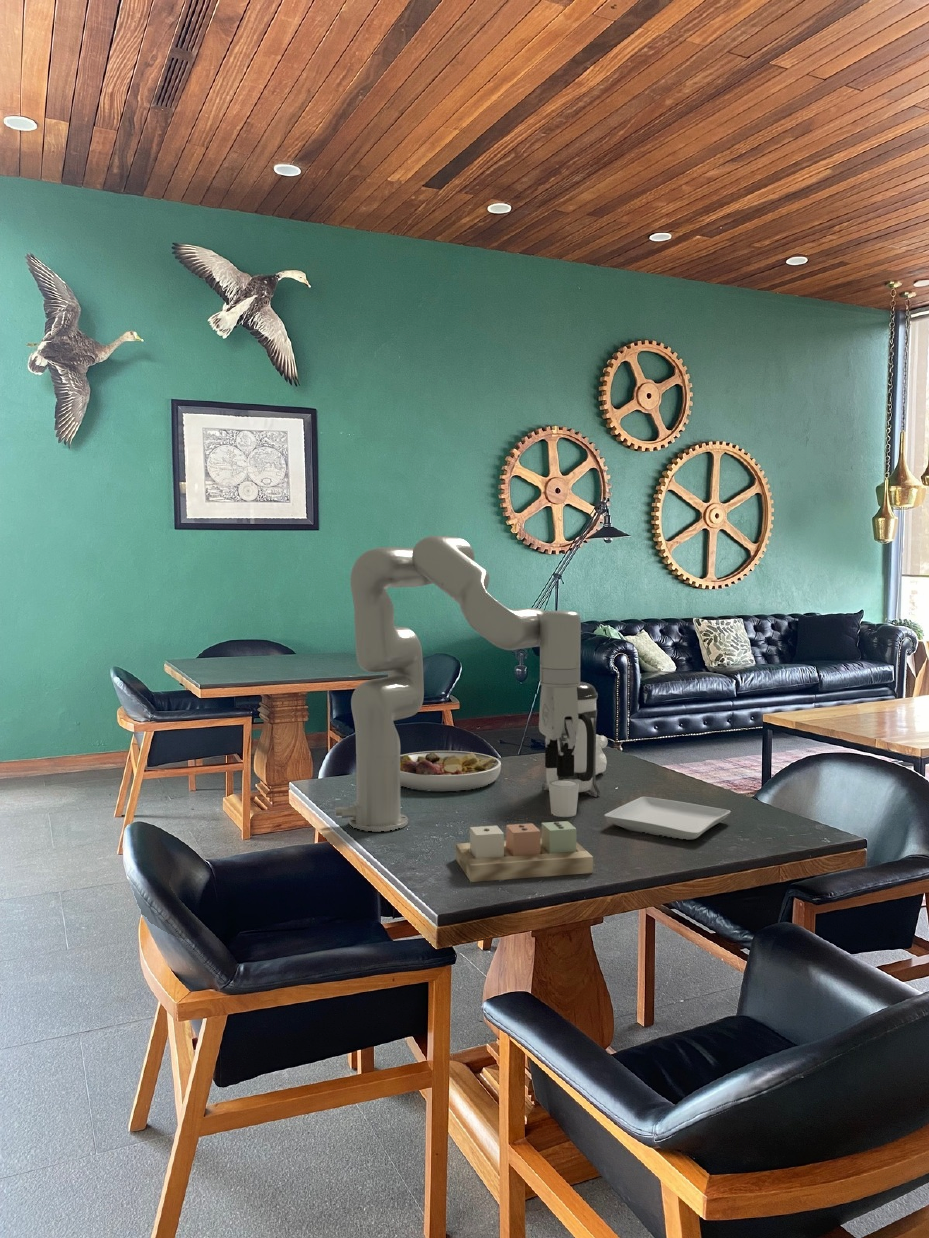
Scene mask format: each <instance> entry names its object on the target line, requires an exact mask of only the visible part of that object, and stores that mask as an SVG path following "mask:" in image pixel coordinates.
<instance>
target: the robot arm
mask: <svg viewBox="0 0 929 1238" xmlns="http://www.w3.org/2000/svg"><path fill="white" fill-rule="evenodd" d="M349 581H350V592H351V598H352V603H353V611H354V612H353V613H354V615H353V616H354V638H355V639H354V641H355V644H354V645H355V656H356V657H355V658H356V662H357V664H358V666H359V668H360V669H361V670H362V671H364V672H367V673H372V674H373V673H374V674H375V673H385V672H387V677H386V676H385V677H381V678H374V679H370V680H367V681H364V682H361V684H359V685H358V686H356V688H355V689H354V691H353V693H352V695H351V699H350V706H351V713H352V718H353V724H354V729H355V733H354V734H355V754H356V756H355V759H356V769H355V770H356V775H355V779H356V781H355V782H356V801H353V805H352V804H351V805H349V807H346V806H345V807H343V806H340V807H339V806H338V807H334V817H335V818H336V817H337V818H338V817H341V818H342V819H347V818H349V821H348V822H349V824H350V825H351V826H352V827H353V828H352V827H351V826H350V825H349V824H348V825H349V826H350V827H351V828H352V829H354V828H358V829H361V830H365V831H364V832H368V831H372V832H373V833H374V832H375V833H376V832H377V833H381V831H384V832H391V831H390V830H392V831H396V830H395V829H397V830H399V829H398V828H400V829H402V828H405V827H406V826H407V825H408V823H409V821H408V820H409V819H408V816H407V815H405V814H403V813H401V810H402V809H401V802H402V801H401V791H402V790H401V789H402V788H401V787H402V786H401V784H400V755H401V739H400V736H399V732H398V730H397V728H396V726H395V723H394V721H398V720H403V719H406V718H410V717H413V716H414V715H416V714H417V713H418V712H419V711H420V709H421V708H422V707H423V706H422V705H423V703H424V698H425V697H424V695H425V689H424V688H425V686H424V683H425V682H424V663H423V659H424V658H423V650H422V649H423V647H422V644H421V641H420V640H419V637H418V636H417V634H416V632H414V631H413V630H412V629H411V628H408V627H406V626H396V624H395V609H394V605H393V602H392V599H391V597H390V595H389V594H388V592H387V589H391V588H414V587H423V586H427V585H433V584H434V585H435V586H436V587H437V588H438V589H440V590H441V591H443V592H444V593H445V594H446V595H447V596H449V597H450V598H452V599H453V600H454V601H455V602H456V603H457V604H459V607H460V610H461V612H462V615H463V617H464V619H465V620H466V622H467V624H468V625H469V626H470V628H472V630H474V631H475V632H477V633H478V634H479V635H480V636H481V637H482V638H484V639H485V640H487V641H488V642H489V643H491V644H492V645H493V646H495V647H497V648H499V649H501V650H502V649H503V650H506V651H514V650H520V649H528V648H529V649H531V648H535V647H536V648H537V647H539V685H540V686H541V688H540V696H539V697H540V698H539V716H538V731H539V732H540V733H541V734H542V735H544V737H545V739H544V745H545V747H544V767H545V769H546V768H557V776H558V777H568V776H574V755H575V749H574V748H575V743H576V737H577V736H578V699H577V687H576V686H580V682H581V646H582V645H581V644H582V643H581V642H582V641H581V640H582V638H581V635H582V632H581V631H582V629H581V625H582V624H581V623H582V622H581V616H580V615H579V613H578V612H575V611H572V610H546V609H541V608H536V607H535V608H533V607H529V608H514V609H509V608H508V607H506V606H505V605H503V604H502V603H501V602H499V601H498V600H497V599H495V598H494V597H493V596H492V595H491V594H490V593H489V592H488V591H487V589H488V587H489V583H490V575H489V572H488V571H487V570H486V569H485V568H483V566H481V565H479V564H478V563H477V562H476V561H475V553H474V550H473V548H472V546H471V545H470V543H469V542H467V540H465V539H463V538H461V537H458V536H449V535H446V536H444V535H430V536H426V537H424V538H422V539H420V540H419V541H418V542H417V543H416V544H415V545H414V547H398V546H397V547H396V546H386V547H385V546H383V547H381V546H380V547H375V548H371V549H369V550H366V551H365V552H363V553H362V554H361V555H360V556H358V558H357V559H356V560H355V562H354V563H353V566H352V569H351V573H350V580H349ZM562 736H567V738H561V737H562ZM562 742H567V743H564V746H563V745H562ZM361 830H360V831H361ZM372 832H371V833H372Z"/></svg>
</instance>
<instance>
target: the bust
mask: <svg viewBox="0 0 929 1238" xmlns="http://www.w3.org/2000/svg"><path fill="white" fill-rule="evenodd" d="M608 741H609V740H608V738H607V737H606V736H604V735H602V734H601V735H599V734H596V775H595V776H597V775H599V774H602V773H603V772H605V771H606V769H607V764H608V762H607V760H608V759H607V757H606V755H605V753H604V751H603V750H602V749H604V748H606V747H607V746H608V743H609V742H608Z"/></svg>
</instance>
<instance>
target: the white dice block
mask: <svg viewBox="0 0 929 1238" xmlns="http://www.w3.org/2000/svg"><path fill="white" fill-rule="evenodd" d="M504 841H505V833H504V832H503V831H502V829H501V828H500V827H499V826H498V825H486V826H470V827H469V843H470V853H471V854H472V856H473V857H474V859H478V858H492V857H504Z"/></svg>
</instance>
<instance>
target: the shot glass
mask: <svg viewBox="0 0 929 1238" xmlns="http://www.w3.org/2000/svg"><path fill="white" fill-rule="evenodd" d="M548 788H549V789H548V791H549V792H548V794H549V802H550V814H551V815H552V814H553V816H555V817H559V818H560V817H561V818H569V817H570V818H571V817H574V816H576V815H577V807H578V799H579V792H578V790H579V783H577V782H575V781H570V780H555V781H551V782H549V786H548Z"/></svg>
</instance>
